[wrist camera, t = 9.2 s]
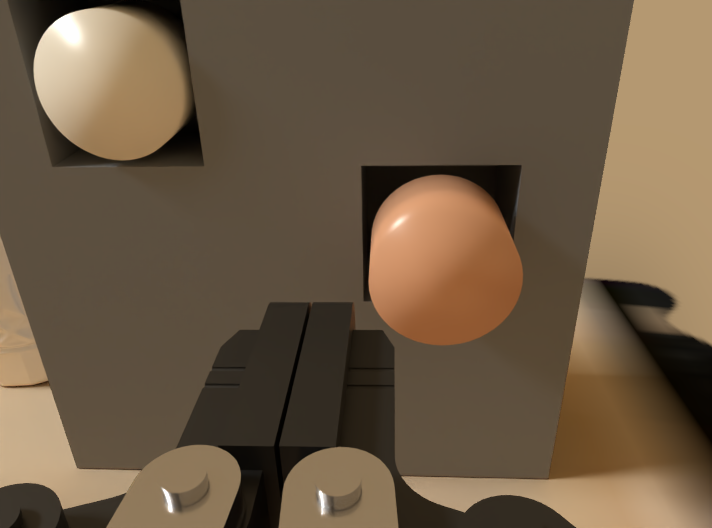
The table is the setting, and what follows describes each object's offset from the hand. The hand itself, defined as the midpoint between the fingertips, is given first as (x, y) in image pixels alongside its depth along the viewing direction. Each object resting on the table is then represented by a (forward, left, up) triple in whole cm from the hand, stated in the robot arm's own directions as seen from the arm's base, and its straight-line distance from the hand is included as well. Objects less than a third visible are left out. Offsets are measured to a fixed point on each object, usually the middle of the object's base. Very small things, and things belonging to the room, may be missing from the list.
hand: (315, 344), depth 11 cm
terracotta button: (+10, 0, -4) cm, 11 cm away
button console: (+12, +5, -13) cm, 18 cm away
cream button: (+10, +10, +1) cm, 14 cm away
